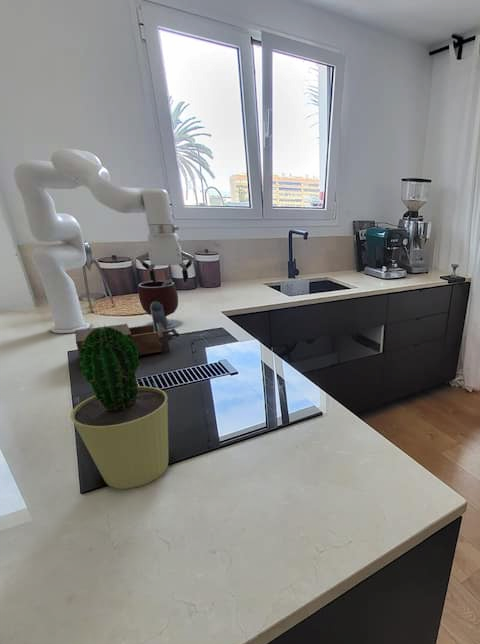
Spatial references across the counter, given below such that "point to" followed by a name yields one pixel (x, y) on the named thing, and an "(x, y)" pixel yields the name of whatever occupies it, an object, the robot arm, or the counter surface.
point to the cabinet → (84, 332)
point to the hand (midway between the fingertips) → (170, 281)
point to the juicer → (88, 265)
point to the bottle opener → (158, 316)
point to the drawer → (151, 338)
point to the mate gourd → (160, 298)
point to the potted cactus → (121, 413)
